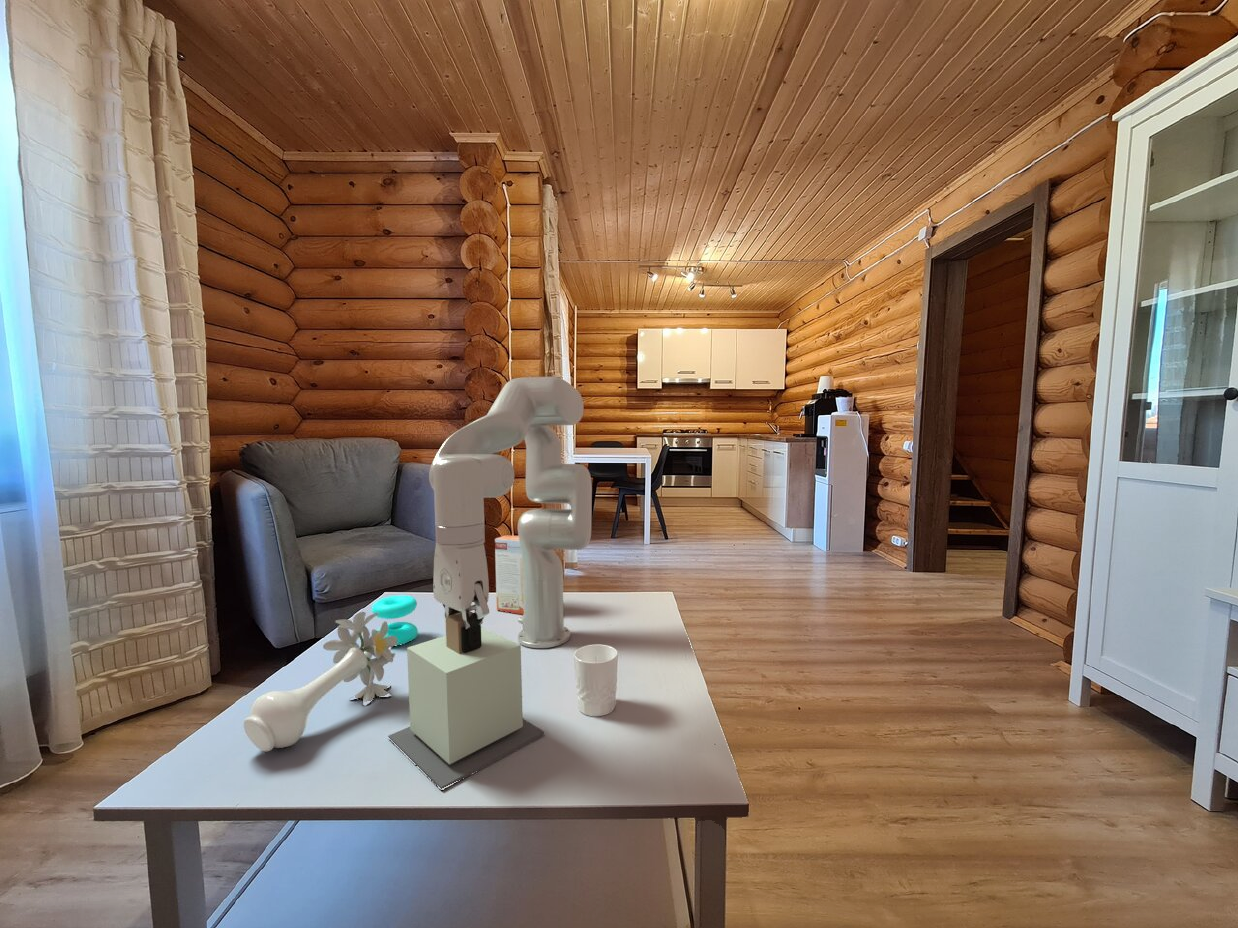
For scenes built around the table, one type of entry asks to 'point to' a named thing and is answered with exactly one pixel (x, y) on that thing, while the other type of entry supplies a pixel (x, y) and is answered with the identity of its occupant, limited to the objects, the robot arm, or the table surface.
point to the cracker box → (509, 574)
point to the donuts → (397, 616)
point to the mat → (467, 765)
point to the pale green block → (464, 691)
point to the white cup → (596, 679)
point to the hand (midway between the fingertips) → (464, 644)
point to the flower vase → (322, 684)
